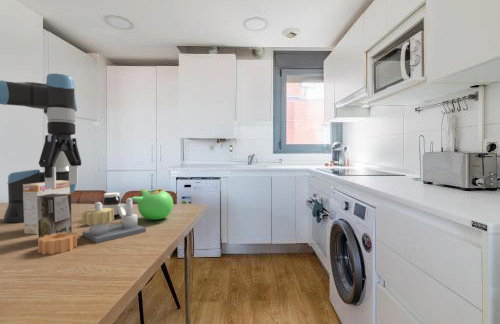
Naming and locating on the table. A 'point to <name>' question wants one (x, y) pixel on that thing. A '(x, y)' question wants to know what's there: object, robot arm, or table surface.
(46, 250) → the orange gear
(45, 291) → the table surface
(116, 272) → the table surface
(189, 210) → the table surface
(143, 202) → the green teapot
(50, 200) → the coffee box
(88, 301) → the table surface
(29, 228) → the coffeecake box
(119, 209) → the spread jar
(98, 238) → the gear board
